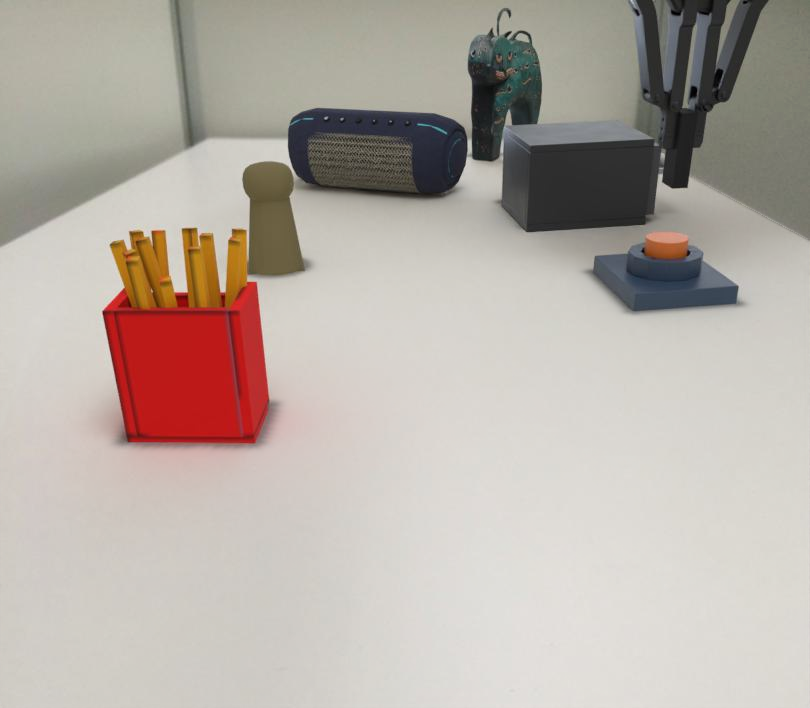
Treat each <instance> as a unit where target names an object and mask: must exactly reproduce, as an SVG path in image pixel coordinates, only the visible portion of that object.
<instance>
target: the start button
mask: <svg viewBox="0 0 810 708" xmlns="http://www.w3.org/2000/svg"><path fill="white" fill-rule="evenodd" d="M644 242H645V250H644V254H645V255H647V256H650V257H654V258H664V259H675V258H683V257H686V256H687V250H688V245H689V242H690V237H689V236H688V235H686V234H684V233H680V232H676V231H653V232H650V233H647V234H646V236H645V241H644Z"/></svg>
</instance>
